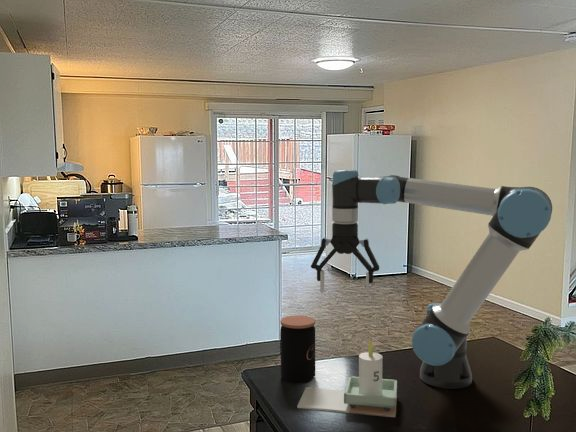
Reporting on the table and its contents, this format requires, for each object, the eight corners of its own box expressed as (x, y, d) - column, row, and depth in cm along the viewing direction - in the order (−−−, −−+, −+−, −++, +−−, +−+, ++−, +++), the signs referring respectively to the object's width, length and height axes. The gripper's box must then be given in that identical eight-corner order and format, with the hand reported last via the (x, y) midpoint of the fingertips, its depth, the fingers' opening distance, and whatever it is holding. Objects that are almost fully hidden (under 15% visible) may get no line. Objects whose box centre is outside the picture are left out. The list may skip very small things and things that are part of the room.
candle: (365, 400, 144) (366, 345, 142) (354, 390, 150) (355, 337, 148) (386, 396, 146) (387, 342, 144) (375, 387, 152) (375, 335, 150)
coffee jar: (312, 385, 160) (312, 326, 159) (277, 383, 163) (276, 324, 161) (317, 372, 171) (317, 316, 169) (284, 369, 173) (284, 314, 171)
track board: (396, 396, 153) (397, 395, 153) (395, 417, 140) (395, 415, 140) (306, 388, 158) (306, 387, 158) (297, 407, 146) (297, 406, 146)
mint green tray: (396, 394, 152) (397, 380, 152) (395, 414, 140) (395, 398, 140) (349, 390, 155) (349, 376, 155) (343, 409, 143) (343, 394, 143)
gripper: (388, 221, 161) (387, 291, 164) (306, 220, 167) (306, 287, 169) (387, 224, 154) (386, 297, 156) (301, 222, 160) (301, 293, 162)
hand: (344, 292), depth 163 cm, fingers open, 13 cm apart
